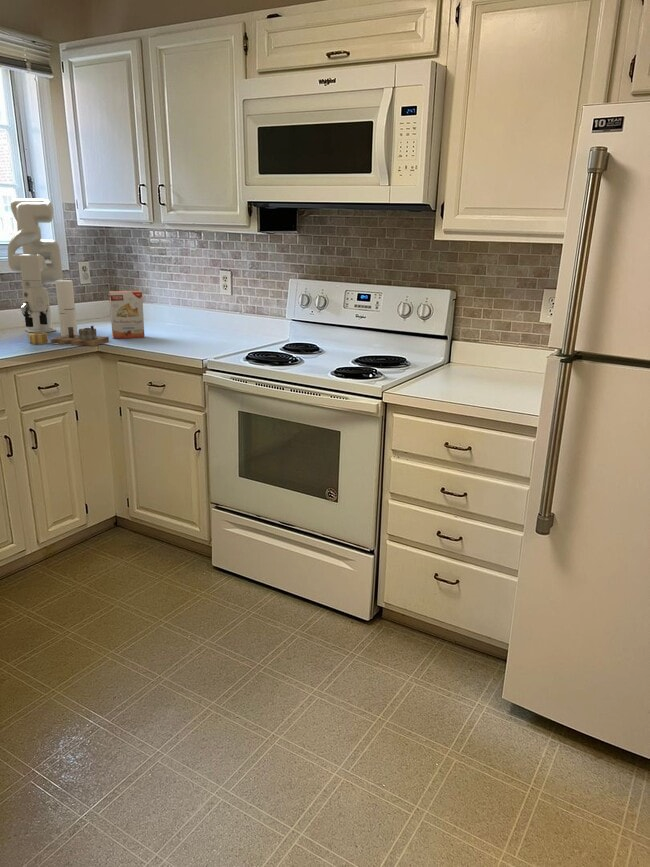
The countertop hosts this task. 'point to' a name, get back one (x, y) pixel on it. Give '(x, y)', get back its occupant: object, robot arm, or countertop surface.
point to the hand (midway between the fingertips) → (36, 325)
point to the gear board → (79, 341)
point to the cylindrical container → (66, 306)
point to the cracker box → (127, 314)
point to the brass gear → (38, 338)
